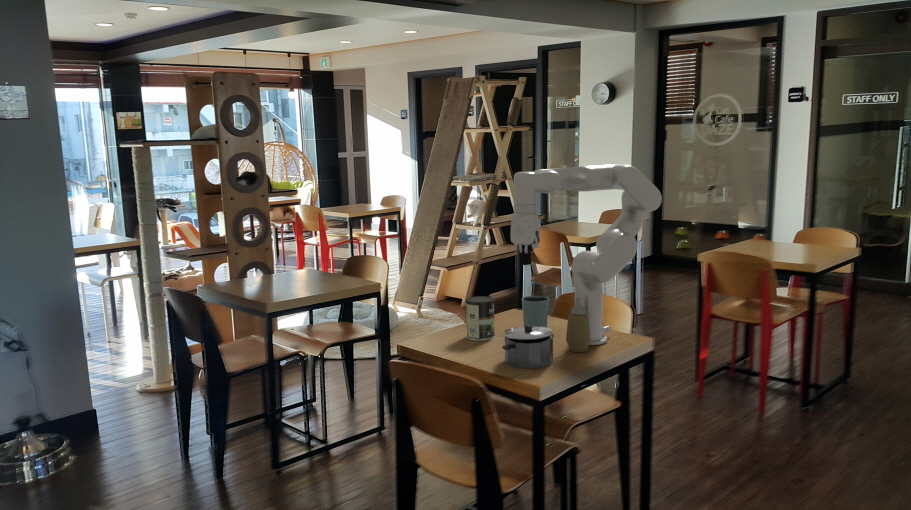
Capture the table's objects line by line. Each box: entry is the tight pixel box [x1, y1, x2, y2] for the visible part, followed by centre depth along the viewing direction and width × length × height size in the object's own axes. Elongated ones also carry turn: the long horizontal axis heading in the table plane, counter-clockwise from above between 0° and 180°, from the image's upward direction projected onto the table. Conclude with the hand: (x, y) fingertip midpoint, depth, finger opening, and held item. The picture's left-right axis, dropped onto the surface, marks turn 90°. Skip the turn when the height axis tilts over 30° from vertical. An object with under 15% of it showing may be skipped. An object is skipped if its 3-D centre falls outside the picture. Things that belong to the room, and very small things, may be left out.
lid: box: [504, 325, 553, 340], centre depth 226 cm, size 15×16×3 cm
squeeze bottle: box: [565, 297, 590, 353], centre depth 235 cm, size 8×8×18 cm
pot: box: [501, 333, 555, 370], centre depth 226 cm, size 21×15×8 cm
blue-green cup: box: [521, 295, 550, 328], centre depth 262 cm, size 10×10×12 cm
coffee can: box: [465, 295, 496, 342], centre depth 255 cm, size 10×10×14 cm
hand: (526, 264), depth 235 cm, fingers closed
